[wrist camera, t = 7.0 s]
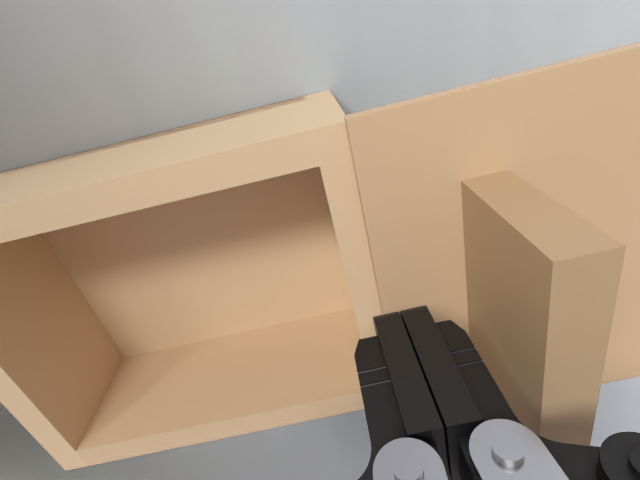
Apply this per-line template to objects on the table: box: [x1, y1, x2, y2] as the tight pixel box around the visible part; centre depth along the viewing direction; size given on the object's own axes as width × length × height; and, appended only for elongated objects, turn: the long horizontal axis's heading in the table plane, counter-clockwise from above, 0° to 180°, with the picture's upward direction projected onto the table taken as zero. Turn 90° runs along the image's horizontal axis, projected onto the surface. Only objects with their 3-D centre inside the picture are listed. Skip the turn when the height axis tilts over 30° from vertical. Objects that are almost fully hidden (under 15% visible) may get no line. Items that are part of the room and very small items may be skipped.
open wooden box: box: [0, 90, 382, 471], centre depth 15 cm, size 11×14×6 cm
